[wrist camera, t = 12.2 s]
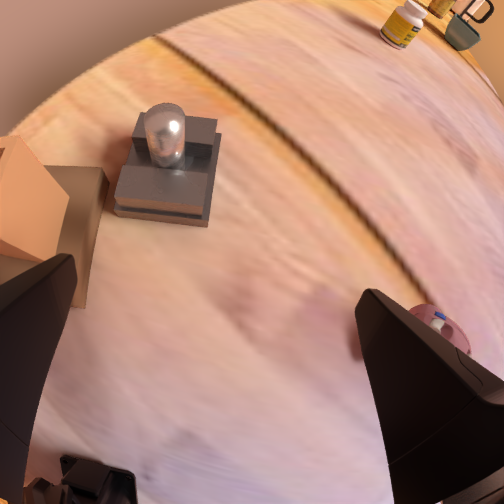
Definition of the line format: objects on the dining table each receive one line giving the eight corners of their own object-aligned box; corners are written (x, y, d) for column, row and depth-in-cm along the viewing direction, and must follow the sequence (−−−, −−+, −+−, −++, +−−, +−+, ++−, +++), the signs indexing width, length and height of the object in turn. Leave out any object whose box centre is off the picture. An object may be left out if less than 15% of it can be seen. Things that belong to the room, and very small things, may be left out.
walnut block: (85, 308, 18) (72, 306, 16) (0, 288, 17) (-17, 284, 14) (109, 182, 21) (101, 167, 18) (26, 178, 19) (14, 165, 17)
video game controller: (427, 372, 24) (483, 347, 19) (421, 409, 21) (483, 387, 16) (372, 320, 24) (433, 284, 19) (361, 360, 21) (432, 327, 16)
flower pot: (463, 50, 47) (480, 34, 39) (463, 58, 45) (481, 40, 36) (440, 30, 47) (455, 12, 39) (438, 35, 45) (455, 15, 36)
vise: (207, 227, 21) (215, 181, 14) (118, 217, 20) (88, 169, 13) (219, 143, 23) (231, 81, 16) (140, 135, 22) (128, 73, 15)
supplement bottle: (398, 53, 35) (427, 17, 25) (374, 33, 35) (399, -4, 25) (407, 48, 36) (433, 15, 27) (384, 30, 36) (408, -4, 27)
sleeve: (53, 264, 16) (-15, 231, 8) (4, 255, 15) (-63, 222, 8) (69, 196, 17) (19, 135, 10) (21, 193, 16) (-33, 141, 9)
